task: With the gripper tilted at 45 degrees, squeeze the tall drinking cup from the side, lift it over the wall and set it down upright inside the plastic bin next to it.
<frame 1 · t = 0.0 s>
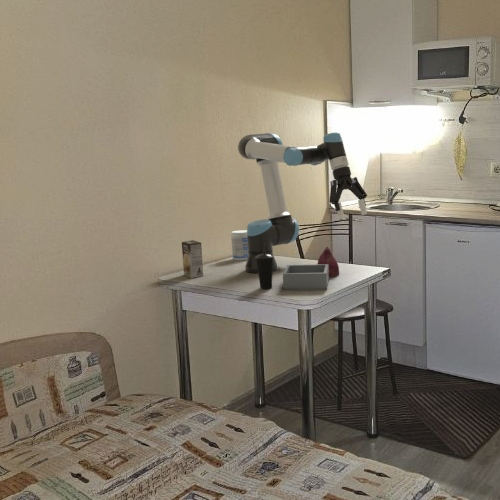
hand: (353, 216, 296), 28 cm above the table, tool tilted 20°, fingers open, 13 cm apart
coffee box: (193, 276, 328), on the table
supplement tub: (241, 259, 360), on the table
vegetable: (327, 275, 314), on the table
bin: (306, 285, 297), on the table
drinking cup: (266, 288, 296), on the table
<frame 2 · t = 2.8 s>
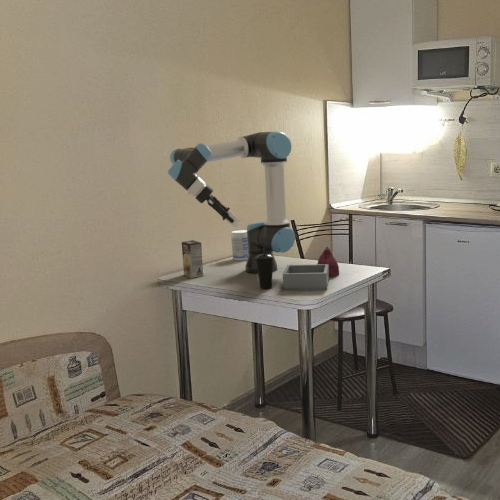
hand: (238, 224, 290), 28 cm above the table, tool tilted 45°, fingers open, 13 cm apart
nothing on the table moved.
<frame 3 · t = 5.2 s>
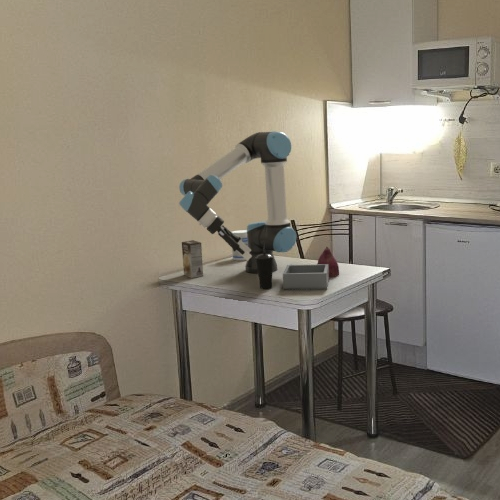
hand: (249, 255, 292), 15 cm above the table, tool tilted 45°, fingers open, 13 cm apart
nothing on the table moved.
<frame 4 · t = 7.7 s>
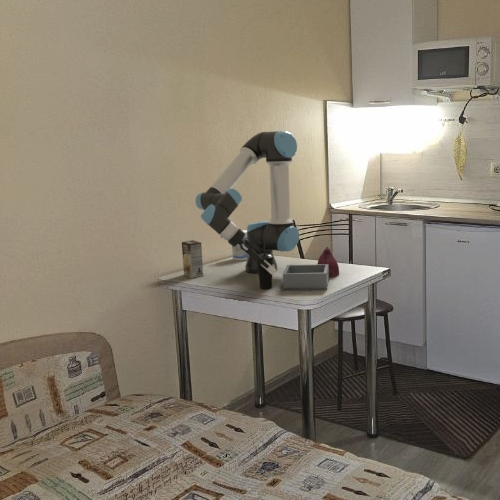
hand: (273, 270, 294), 7 cm above the table, tool tilted 45°, fingers closed on drinking cup, 7 cm apart
drinking cup: (266, 288, 296), on the table, touching gripper
everything else where it was.
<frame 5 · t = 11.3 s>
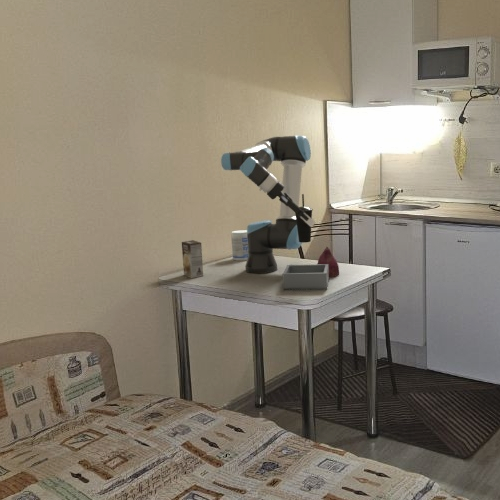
hand: (312, 223, 292), 26 cm above the table, tool tilted 45°, fingers closed on drinking cup, 7 cm apart
drinking cup: (304, 242, 293), point 19 cm above the table, touching gripper
everything else where it was.
when the fingers open (10 cm above the table, at t = 14.7 s): drinking cup drops 1 cm, resting on bin.
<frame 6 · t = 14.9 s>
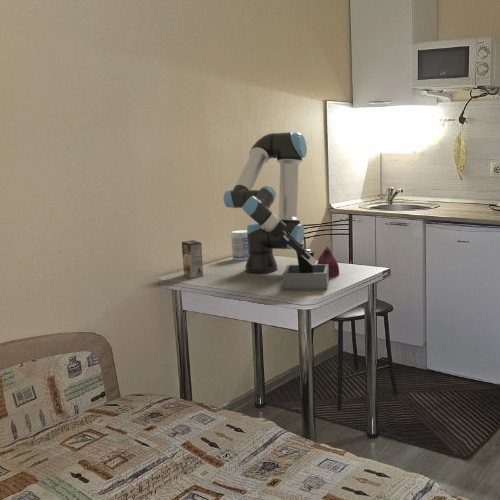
hand: (313, 261, 295), 10 cm above the table, tool tilted 45°, fingers open, 9 cm apart
drinking cup: (306, 283, 296), point 1 cm above the table, touching bin
everything else where it was.
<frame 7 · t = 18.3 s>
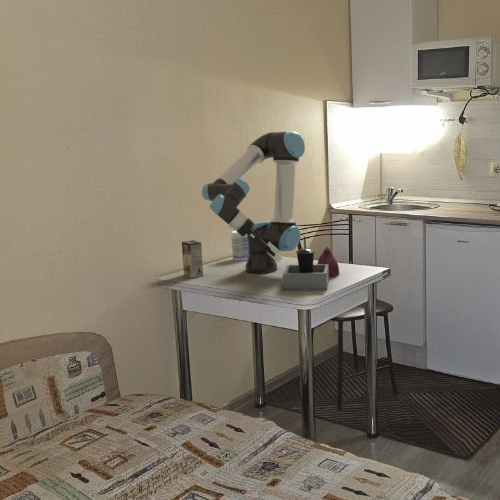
hand: (279, 257, 294), 13 cm above the table, tool tilted 45°, fingers open, 13 cm apart
nothing on the table moved.
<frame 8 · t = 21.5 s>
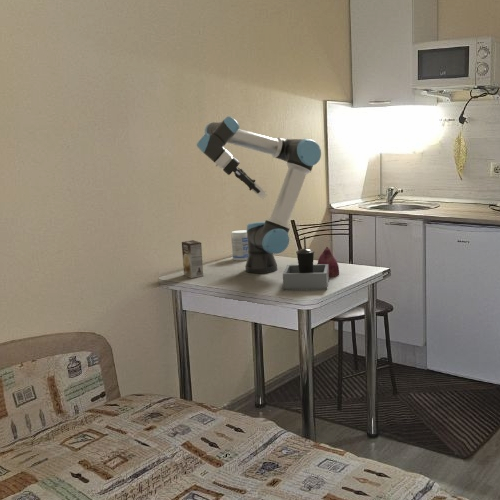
hand: (264, 195, 303), 38 cm above the table, tool tilted 45°, fingers open, 13 cm apart
nothing on the table moved.
at the end: drinking cup inside the target area on the bin (0.4 cm from its centre), point 0.8 cm above the bin's base; drinking cup tilted 0°; the gripper is holding nothing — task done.
